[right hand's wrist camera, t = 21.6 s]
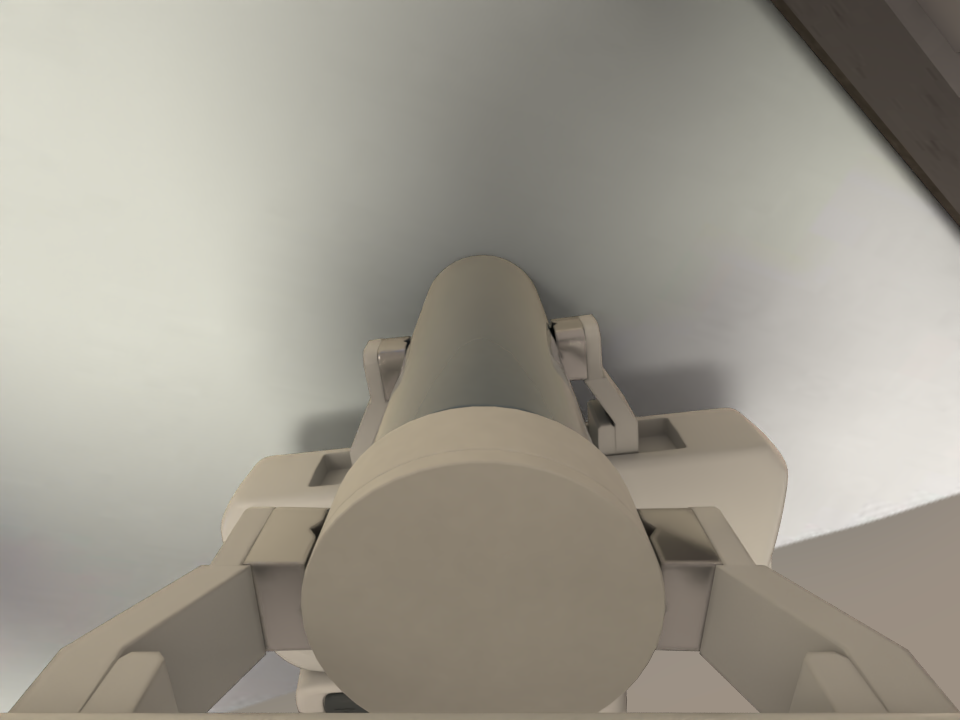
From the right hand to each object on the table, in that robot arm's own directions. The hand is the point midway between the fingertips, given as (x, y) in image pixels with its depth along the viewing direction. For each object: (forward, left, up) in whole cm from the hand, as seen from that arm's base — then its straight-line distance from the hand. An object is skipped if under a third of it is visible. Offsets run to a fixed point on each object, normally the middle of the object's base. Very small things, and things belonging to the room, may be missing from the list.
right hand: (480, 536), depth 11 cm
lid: (0, 0, +2) cm, 2 cm away
